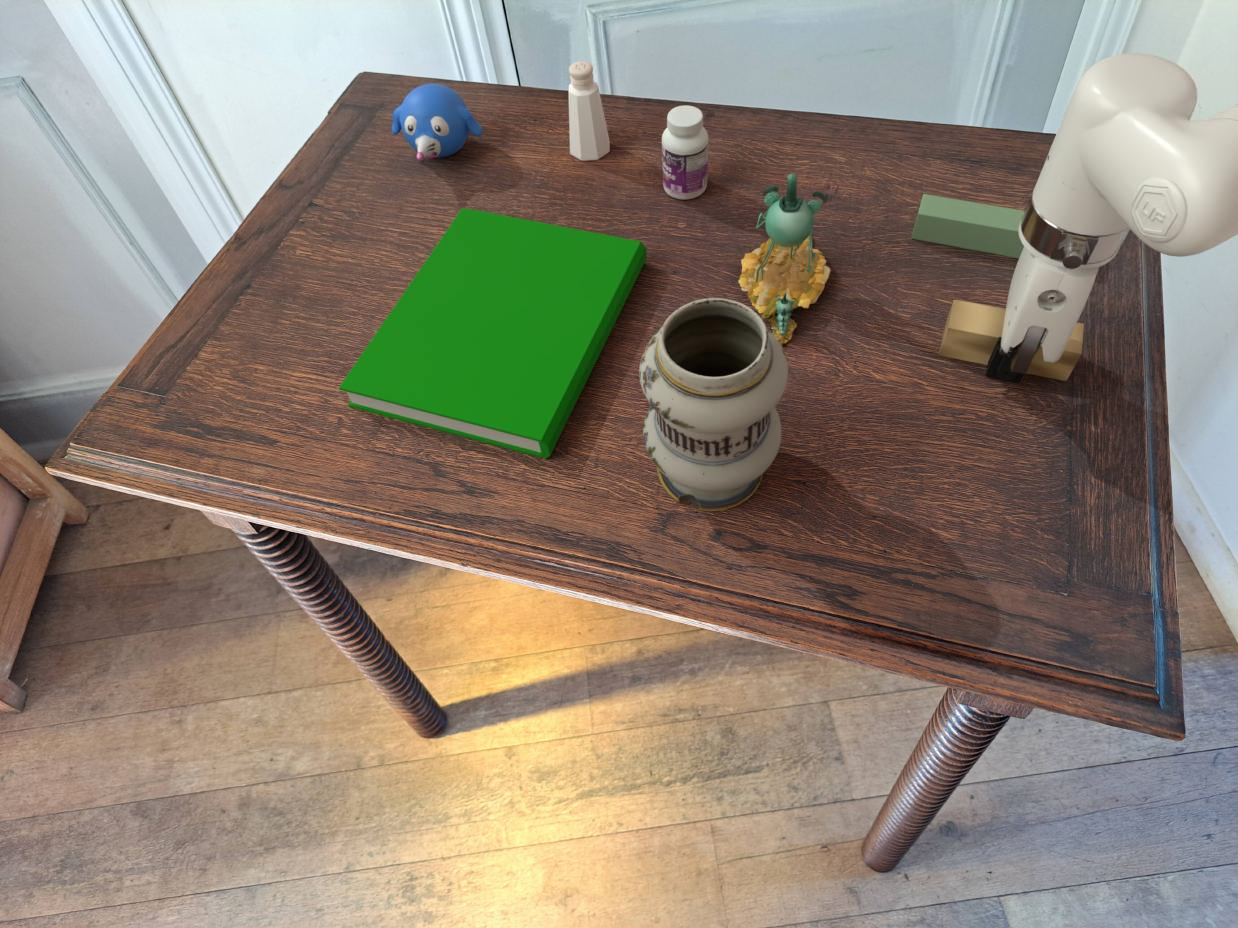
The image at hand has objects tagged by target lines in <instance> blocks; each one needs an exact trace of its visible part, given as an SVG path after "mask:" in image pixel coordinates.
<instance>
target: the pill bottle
mask: <svg viewBox="0 0 1238 928" xmlns="http://www.w3.org/2000/svg"><path fill="white" fill-rule="evenodd" d="M661 160H662V161H661V162H662V186H663V189H664V191H665V193H666V194H667V195H668V196H670V197H671V198H673V199H677V200H682V201H686V200H693V199H695V198H698V197H700V196H701V195H702V194H703V193H705V191H706V189H707V187H708V186H707V185H708V170H709V169H708V168H709V133H708V131H707V130H706V128H705V127H704V114H703V111H701V110H700V108H698V107H696V106H693V105H688V104H687V105H686V104H685V105H678V106H675V107H673V108H672V109H670V111H668V113H667V116H666V128H665V129H664V131H663V132H662V136H661Z"/></svg>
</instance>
